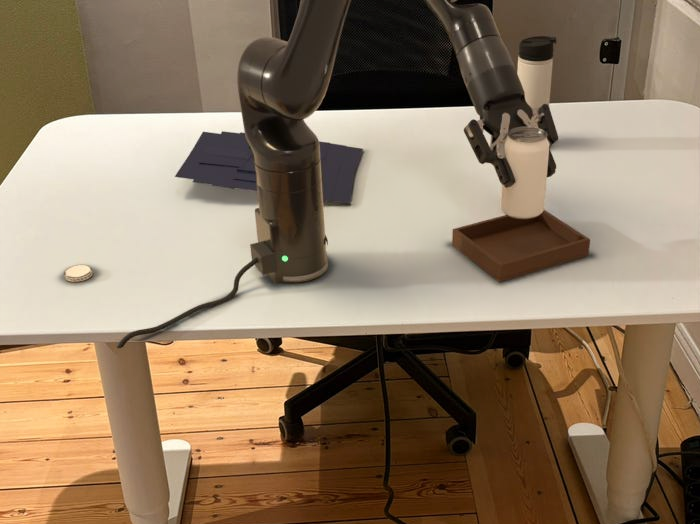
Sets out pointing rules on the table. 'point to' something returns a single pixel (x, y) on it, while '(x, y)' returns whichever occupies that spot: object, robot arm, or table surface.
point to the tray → (519, 244)
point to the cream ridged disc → (78, 273)
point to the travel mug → (536, 69)
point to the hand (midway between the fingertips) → (531, 179)
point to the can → (526, 172)
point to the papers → (239, 171)
